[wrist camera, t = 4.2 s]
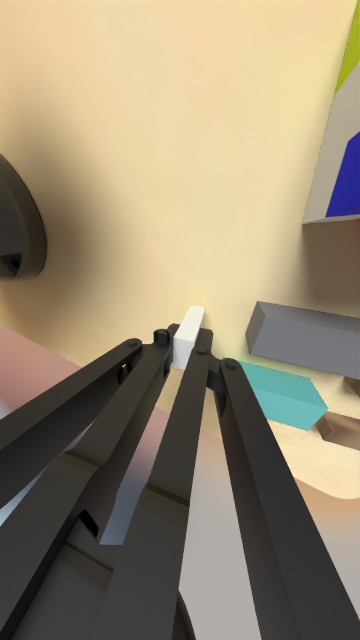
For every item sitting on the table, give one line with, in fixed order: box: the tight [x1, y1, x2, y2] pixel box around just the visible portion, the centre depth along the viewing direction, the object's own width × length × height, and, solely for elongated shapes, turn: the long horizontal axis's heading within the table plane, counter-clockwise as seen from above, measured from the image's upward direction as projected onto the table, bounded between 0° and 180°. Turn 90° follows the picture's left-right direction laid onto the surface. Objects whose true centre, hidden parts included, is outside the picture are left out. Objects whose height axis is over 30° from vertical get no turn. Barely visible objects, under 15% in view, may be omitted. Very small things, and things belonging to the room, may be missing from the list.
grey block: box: [246, 301, 360, 380], centre depth 14 cm, size 10×4×4 cm, turn 84°
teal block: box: [223, 357, 328, 431], centre depth 18 cm, size 10×4×4 cm, turn 84°
